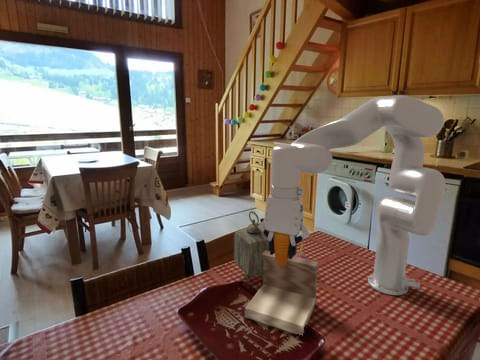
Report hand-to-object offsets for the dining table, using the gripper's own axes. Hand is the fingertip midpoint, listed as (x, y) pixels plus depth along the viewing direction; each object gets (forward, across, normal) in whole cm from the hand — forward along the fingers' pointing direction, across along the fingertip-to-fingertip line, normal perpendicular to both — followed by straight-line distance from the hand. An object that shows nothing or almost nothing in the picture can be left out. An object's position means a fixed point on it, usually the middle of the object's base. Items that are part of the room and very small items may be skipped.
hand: (282, 254), depth 83 cm
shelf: (+20, 0, -3) cm, 20 cm away
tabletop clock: (+20, +16, -16) cm, 30 cm away
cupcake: (+20, +3, -28) cm, 34 cm away
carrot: (+5, 0, 0) cm, 5 cm away
